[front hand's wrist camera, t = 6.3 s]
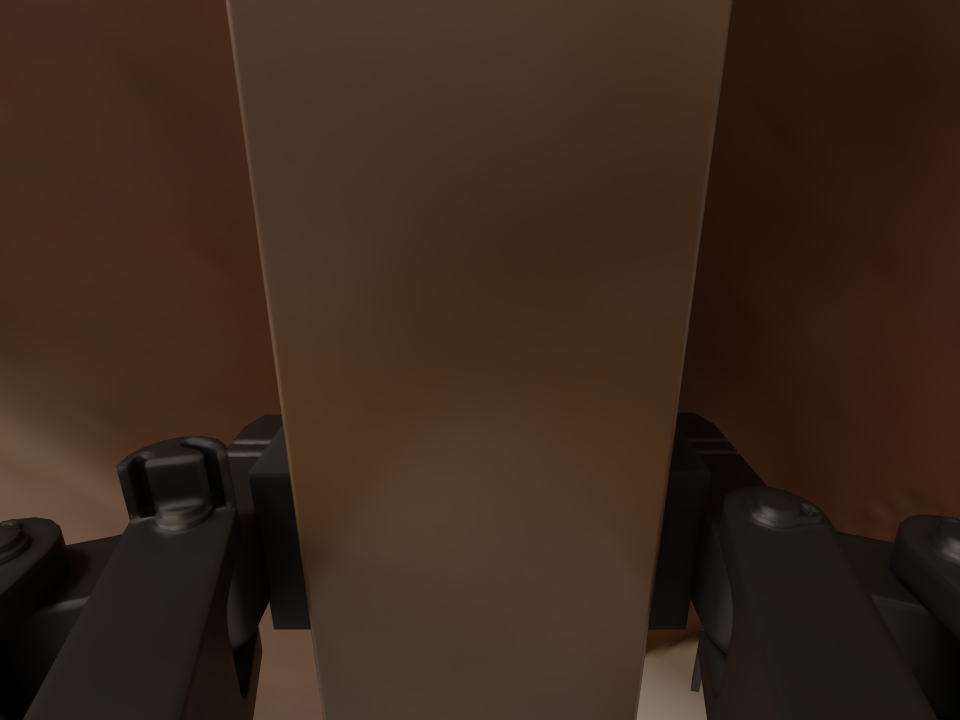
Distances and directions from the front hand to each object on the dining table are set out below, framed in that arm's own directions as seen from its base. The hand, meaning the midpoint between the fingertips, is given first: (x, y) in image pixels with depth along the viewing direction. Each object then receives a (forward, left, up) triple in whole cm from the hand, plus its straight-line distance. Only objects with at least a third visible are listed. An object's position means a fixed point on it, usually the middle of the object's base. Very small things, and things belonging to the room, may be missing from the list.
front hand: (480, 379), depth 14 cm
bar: (-3, -29, -1) cm, 30 cm away
